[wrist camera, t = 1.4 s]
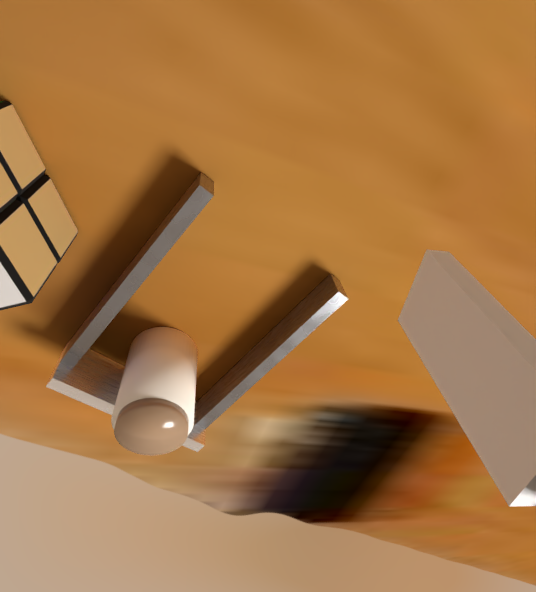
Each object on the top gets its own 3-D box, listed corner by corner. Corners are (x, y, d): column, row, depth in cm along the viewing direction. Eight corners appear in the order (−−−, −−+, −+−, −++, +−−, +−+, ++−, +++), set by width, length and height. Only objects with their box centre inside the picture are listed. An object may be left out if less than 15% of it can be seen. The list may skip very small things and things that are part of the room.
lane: (64, 347, 39) (45, 386, 34) (201, 172, 31) (198, 194, 27) (199, 412, 45) (197, 451, 41) (339, 280, 38) (354, 312, 33)
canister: (116, 358, 40) (92, 440, 32) (154, 315, 38) (138, 391, 30) (172, 386, 43) (163, 467, 35) (210, 347, 40) (209, 425, 33)
